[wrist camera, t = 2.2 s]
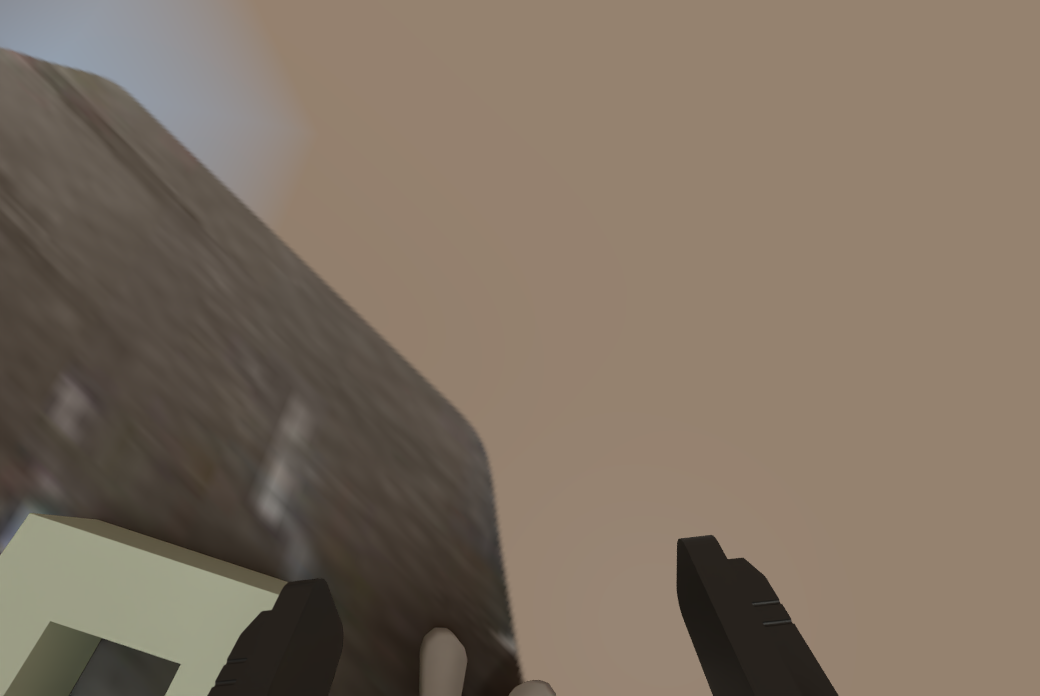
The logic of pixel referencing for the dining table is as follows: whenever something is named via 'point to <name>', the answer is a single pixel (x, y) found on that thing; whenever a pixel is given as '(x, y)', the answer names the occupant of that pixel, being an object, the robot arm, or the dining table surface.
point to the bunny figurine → (456, 668)
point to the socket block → (117, 604)
